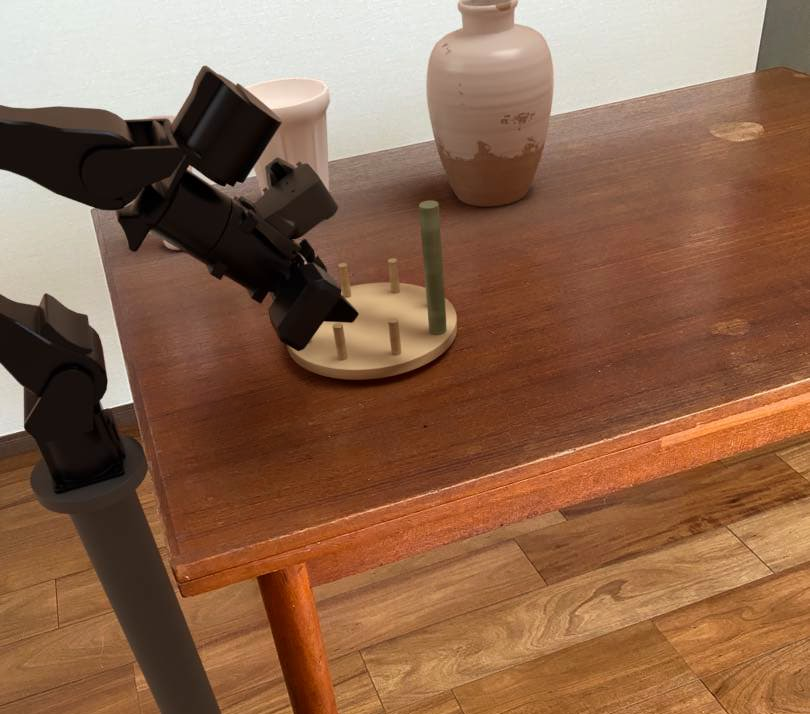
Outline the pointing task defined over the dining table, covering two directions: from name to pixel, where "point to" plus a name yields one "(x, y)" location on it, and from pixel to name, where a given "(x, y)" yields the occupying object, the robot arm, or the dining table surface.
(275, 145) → the cup
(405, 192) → the dining table surface
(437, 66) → the vase
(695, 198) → the dining table surface
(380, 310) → the wooden peg board
